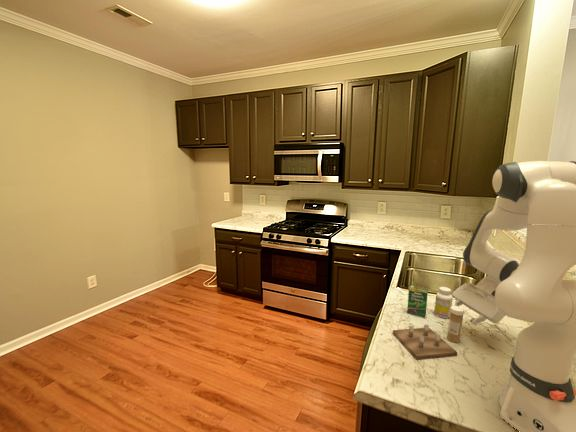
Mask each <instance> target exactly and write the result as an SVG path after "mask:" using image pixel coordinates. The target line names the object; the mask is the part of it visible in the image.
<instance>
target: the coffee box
mask: <svg viewBox="0 0 576 432" xmlns="http://www.w3.org/2000/svg"><path fill="white" fill-rule="evenodd" d="M428 294H429V289H428V288H426V287H419V286H415V285H409V287H408V294H407V296H408V297H407V311H406V313H407V314H409V315H413V316H417V317H421V318H426V316H427V305H428Z"/></svg>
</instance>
